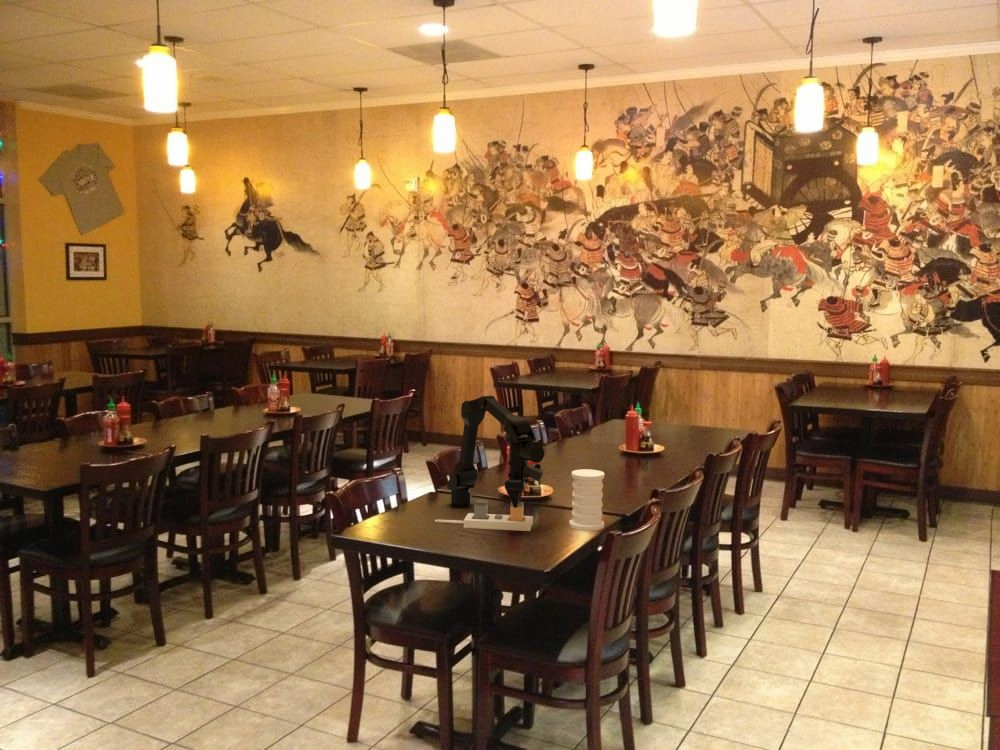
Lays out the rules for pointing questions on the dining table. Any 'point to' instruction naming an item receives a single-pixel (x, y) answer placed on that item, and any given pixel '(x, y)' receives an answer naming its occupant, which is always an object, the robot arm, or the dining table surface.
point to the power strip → (494, 522)
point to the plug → (516, 512)
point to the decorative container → (587, 500)
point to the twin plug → (480, 509)
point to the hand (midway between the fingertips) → (517, 504)
